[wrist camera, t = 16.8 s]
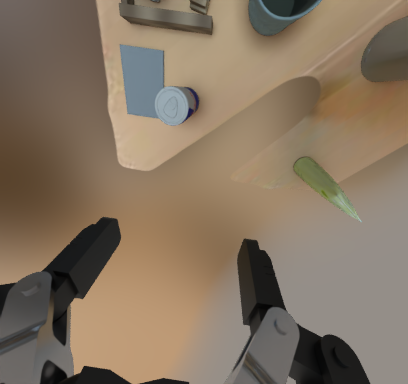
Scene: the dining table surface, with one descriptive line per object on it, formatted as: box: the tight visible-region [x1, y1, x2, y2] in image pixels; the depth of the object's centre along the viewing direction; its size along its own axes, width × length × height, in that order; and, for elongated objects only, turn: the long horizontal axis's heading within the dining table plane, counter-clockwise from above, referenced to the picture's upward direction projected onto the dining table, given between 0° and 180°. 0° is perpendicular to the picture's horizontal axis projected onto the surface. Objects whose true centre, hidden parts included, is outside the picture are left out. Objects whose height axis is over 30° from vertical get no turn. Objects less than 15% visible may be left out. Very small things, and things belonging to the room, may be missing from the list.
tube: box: [294, 157, 362, 222], centre depth 36 cm, size 6×5×20 cm
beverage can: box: [155, 86, 199, 126], centre depth 32 cm, size 6×6×15 cm
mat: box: [120, 45, 164, 119], centre depth 37 cm, size 9×13×1 cm
